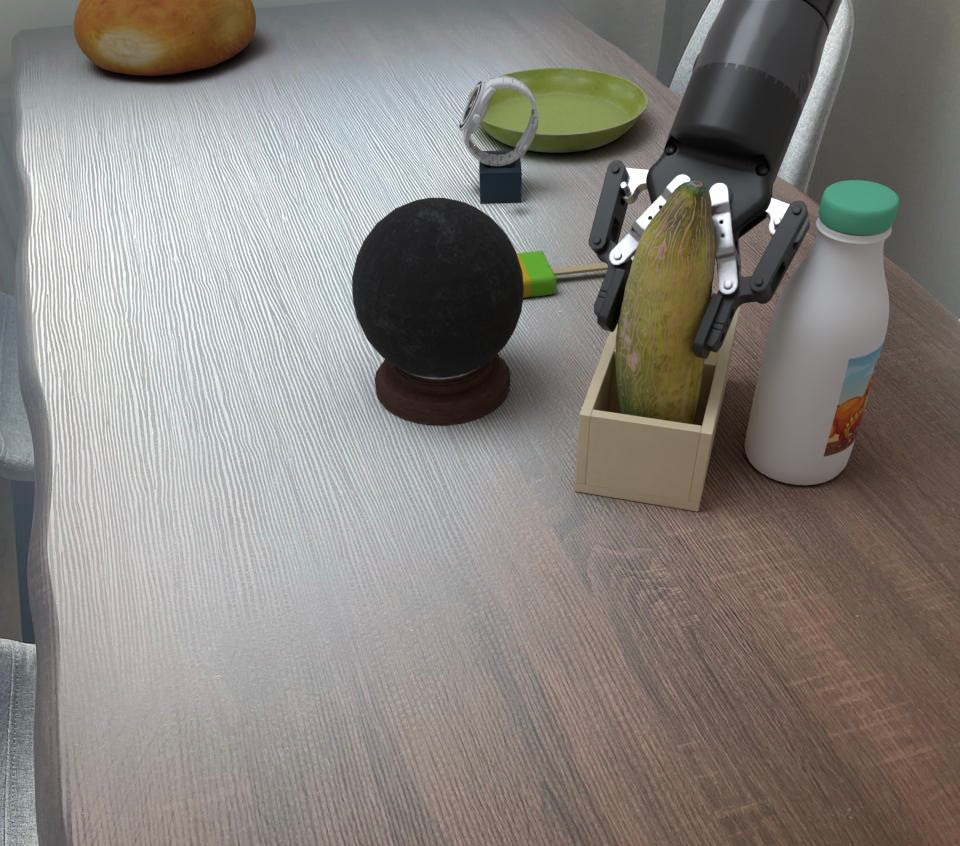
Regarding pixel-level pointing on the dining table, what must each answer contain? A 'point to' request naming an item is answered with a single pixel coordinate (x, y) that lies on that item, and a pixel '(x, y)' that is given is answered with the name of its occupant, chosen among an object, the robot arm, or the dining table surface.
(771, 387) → the milk bottle
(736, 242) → the robot arm
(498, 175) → the watch
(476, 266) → the black ball on stand
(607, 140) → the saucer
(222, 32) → the bread
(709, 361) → the wooden divided box
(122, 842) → the dining table surface
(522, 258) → the popsicle
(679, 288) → the vegetable
